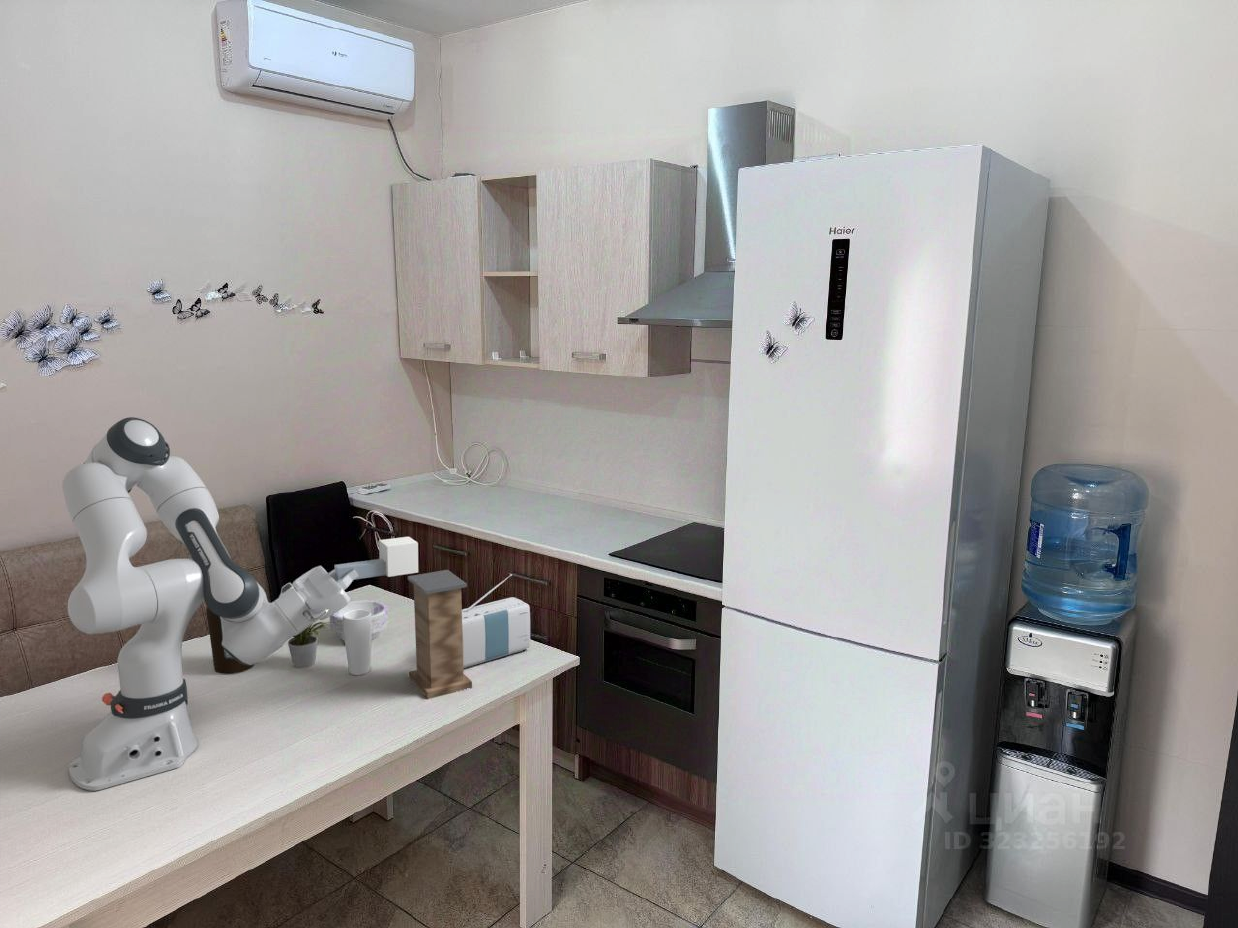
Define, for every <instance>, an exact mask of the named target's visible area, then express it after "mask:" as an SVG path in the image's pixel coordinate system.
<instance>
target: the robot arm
mask: <svg viewBox="0 0 1238 928" xmlns="http://www.w3.org/2000/svg"><path fill="white" fill-rule="evenodd" d="M170 448H171V447H170V445H169V444H168V443H167V442H166V439H165V437H164V436H163V434H162V432H160V431H159V429H158V428H157V427H155V425H154V424H152V423H151V422H149V421H147V420H145V419H142V418H139V417H133V416H129V417H125V418H123V419H120V420H119V421H117V422H115V423H114V424H113V425H112V426H111V427H109V428H108V430H107V433H105V434H104V436H102V438H101V439H100V440H99V441H98V442H97V443H96V444H95V445H94V446H93V447H92V449H91V451H90V453H89V454H88V456H87V458H86V460H85V461H84V462H83V463H82V464H78V465H77V466H75V467H73V468H71V469H70V470H69V471H68V472H67V473H65V475H64V476H63V479H62V482H61V484H62V485H61V486H62V492H63V493H62V494H63V496H64V502H65V505H66V508H67V510H68V514H69V517H70V519H71V520H72V523H73V525H74V527H75V529H76V532H77V534H78V537H79V539H80V541H81V544H82V547H83V550H84V553H85V557H86V565H85V566H86V567H85V571H84V574H83V576H82V578H81V580H80V581H79V582H78V583H77V585H76V586H74V588H73V590H71V592H70V595H69V598H68V601H67V614H68V617H69V619H70V621H71V623H72V624H73V625H74V626H75V627H76V628H77V629H78V630H79V631H81V632H82V633H84V634H86V635H96V634H97V635H98V634H105V633H106V634H107V633H114V632H115V633H116V632H119V631H122V630H126V629H128V628H132V627H135V626H138V625H140V628H139V629H138V630H137V632H136V633H135V635H134V636H133V637H131V639H129V640H128V641H127V642H126V643H125V644H123V646H122V648H121V649H120V650H119V653H118V656H117V670H118V678H119V679H118V680H119V681H118V682H119V688H120V690H119V691H118V692H117V694H116V695H113V693H111V692H106V693H104V694H103V695H102V697H101V701H102V703H104V704H105V705H106V706H110V713H109V714H107V716H105V717H104V718H103V719H102V720H101V721H100V722H99V723H98V724H97V725H95V727H94V728H93V729H91V730H90V731H89V732H88V733H87V734H85V737H84V739H83V741H82V744H81V752H80V756H79V757H76V758H75V759H72V760H71V762H70V763H69V766H68V775H69V778H70V779H71V781H72V783H74V784H75V785H76V786H77V787H78V788H80V789H84V790H88V791H95V792H97V791H101V790H104V789H108V788H110V787H111V788H112V787H115V786H118V785H121V784H125V783H129V782H131V781H135V780H139V779H143V778H145V777H149V776H152V775H157V774H160V773H164V772H167V771H171V770H175V769H177V768H179V767H181V766H182V765H183V763H184V762H185V759H186V758H187V757H188V756H190V755H191V754H192V753H193V752H194V751H196V749H197V747H198V744H199V740H198V737H197V736H196V734H195V731H194V729H193V726H192V723H191V719H190V716H189V715H190V714H189V712H188V701H189V699H188V698H189V695H188V687H187V682H186V679H185V678H184V675H183V658H182V657H183V656H182V655H183V653H182V651H183V649H182V648H183V641H184V637H185V634H186V633H185V632H186V631H187V628H188V626H189V623H190V622H191V619H192V617H193V616H194V615H195V612H197V610H198V609H199V608H200V606H201V605H203V603H204V602H205V605H206V608H207V607H208V608H209V609H210V610H211V611H212V612H213V613H214V614H216V615H218V616H220V618H221V623H222V630H223V641H222V646H223V648H224V650H225V651H226V652H227V653H228V654H229V655H230V656H232V657H233V658H234V659H235V660H237V661H238V662H239V663H241V664H244V665H253V664H254V665H255V664H257V663H259V662H261V661H263V660H265V659H266V658H268V657H269V656H271V655H272V654H273V653H275V652H277V651H278V650H279V649H280V648H283V645H285V644H286V642H288V641H289V640H290V639H292V638H294V637H293V636H296V635H298V634H299V633H301V632H302V631H304V630H305V629H306V628H308V627H309V626H310V625H312V626H313V625H314V624H315V622H316V623H317V621H318V620H320V621H323V620H326V619H328V618H330V616H331V615H333V614H334V613H336V612H338V611H339V610H341V609H342V608H344V607H345V606H346V605H347V604H348V603H349V602H350V601H351V598H350V596H349V595H348V593H347V592H346V591H345V590H347V589H348V587H349V586H350V585H351V584H352V582H354V579H355V578H357V577H358V573H357V572H356V570H354V569H351V570H350V571H348V572H347V574H346V575H345V576H344V577H343V578H342V579H339V580H338V581H337V580H336V579H335V569H332V570H331V571H329V572H327V570H326V569H325V568H324V567H323V566H322V565H318V566H315V567H312V568H311V569H310V570H308V571H306V572H305V573H303V574H301V576H299V577H298V578H296V579H295V580H294V581H293V582H292V583H291V582H288V583H286V584H285V585H283V586H282V587H281V590H280V594H279V595H278V598H276V599H275V600H273V601H272V602H269V600H268V598H267V597H268V596H267V594H266V591H265V590H264V588H263V587H262V586H261V585H260V584H259V583H258V581H257V580H256V579H255V577H254V576H253V575H252V574H251V573H250V572H249V571H248V570H246V569H245V568H243V567H241V566H239V565H238V564H237V563H236V562H234V560H233V558H231V556H230V554H229V552H228V550H227V548H226V547H225V545H224V543H223V542H222V540H221V538H220V536H219V534H218V531H217V529H216V527H217V525H218V523H219V521H220V515H219V512H218V511H219V510H218V508H217V505H216V502H215V500H214V499H213V496H212V494H211V492H210V490H209V489H208V488H207V486H206V485H205V483H204V481H203V480H202V478H200V476H199V474H198V473H197V472H196V471H195V470H194V469H193V468H192V466H191V465H190V464H189V463H188V462H187V461H186V460H185V459H183V458H182V457H180V456H177V455H171V449H170ZM135 486H136V487H137V488H138V489H140V490H142V491H143V492H144V493H145V494H146V495H147V496H148V497H149V499H150V501H151V504H152V506H153V508H154V509H155V512H156V514H157V515H158V517H159V519H160V521H162V523H163V524H164V526H165V527H166V528H167V530H169V532H170V533H171V534H172V535H173V536H174V537H175V538H176V539H177V540H179V541H180V542H181V543H183V544H184V546H185V548H186V549H187V551H188V553H189V554H190V556H191V558H187V557H186V558H184V557H183V558H170V559H166V560H162V561H157V562H153V563H148V564H145V565H142V566H133V565H132V563H131V561H130V558H132V557H133V556H135V555H136V554H137V553H138V552H139V551H140V550H141V549H142V548H143V547H144V545H145V544H146V542H147V541H146V540H147V539H148V538H147V537H148V529H147V527H146V525H145V524H144V521H143V520H142V516H140V515H141V514H139V511H138V509H137V507H136V505H135V503H134V501H133V499H132V497H131V495H130V492H131V491H132V490H133V488H134V487H135ZM355 580H356V579H355Z"/></svg>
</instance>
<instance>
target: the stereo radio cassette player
mask: <svg viewBox="0 0 1238 928" xmlns="http://www.w3.org/2000/svg"><path fill="white" fill-rule="evenodd" d="M512 576H513V574H511V573H510V574H509V576H508V577H506V578H504V579H503V580H502V581H501V582H500V583H498V584H497V585H495V586H494V587H493V588H492V589H490V590H489V591H488V592H487V593H485V594H484V595H483V596H482V597H480V598H479V599H478V600H476V601H475V602H474V603H473V604H471V606H468V608H463V609H462V637H463V670H464V669H466V668H469V667H473V666H476V665H480V664H482V663H486V662H489V661H492V660H495V659H499V658H503V657H506V656H509V655H513V654H516V653H519V652H524V651H525V650H527V649H528V648H530V645H531V611H530V609H531V607H530V605H529V604H528V603H526V602H524V601H523V600H521V599H519V598H517V597H514V596H513V597H507V598H503V599H499V600H495V601H491V602H488V603H483V604H479V605H477V604H478V603H480V602H481V601H483V599H484V598H486V597H487V596H488V595H490V594H491V593H492V592H493V591H494V590H495V589H497V588H499V586H500V585H502V584H503V583H504V582H505V581H506V580H507V579H508V578H510V577H512ZM523 650H524V651H523Z"/></svg>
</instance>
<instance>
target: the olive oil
mask: <svg viewBox="0 0 1238 928" xmlns="http://www.w3.org/2000/svg"><path fill="white" fill-rule="evenodd" d="M205 613H206V620H207V626H208V631H209V632H208V634H209V640H210V646H211V655H212V664H213V670H214V671H215V673H218V674H223V675H234V674H240V673H243V672H245V671H247V670H248V671H249V670H250V669H252V668H253V667H254V665H255V664H253V665H244V664H241V663H239V662H238V661H237V660H235V659H234V658H233V657H232V656H230V655H229V654H228V653H227V652H226V651H225V650H224V648H223V646H222V641H223V630H222V623H221V618H220V616H218V615H216V614H214V613H213V612H212V611H211V610H210V609H209V608H208V607H207V606H206V612H205Z"/></svg>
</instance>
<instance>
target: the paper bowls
mask: <svg viewBox="0 0 1238 928" xmlns="http://www.w3.org/2000/svg"><path fill="white" fill-rule="evenodd" d="M352 610H367V611H370V612H371V619H372V640H373V639H375V638H376V637H378V636H379V635H380V633H381V631H383V630H385V629H386V627H387V626H388V623H389V622H388V621H389V617H388V615H389V609H388V606H387V605H386V604H384V603H382V602H380V601H376V600H369V599H368V600H367V599H366V600H365V599H364V600H363V599H360V600H352V601H351V600H350V602H349V603H348V604H347V605H346V606H345V607H344V608H342V609H341V610H339V611H338V612H336V613H334V615H331V616H330V617H329V622H330V623H329V630H330V631H331V632H332V633H334V634H336V635H338V636H339V638H340V639H341V640H343V641H344V642H345V640H344V633H343V615H344V614H345V613H346V612H349V611H352Z"/></svg>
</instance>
